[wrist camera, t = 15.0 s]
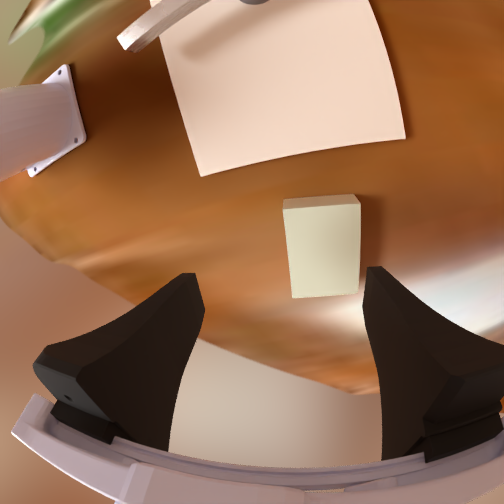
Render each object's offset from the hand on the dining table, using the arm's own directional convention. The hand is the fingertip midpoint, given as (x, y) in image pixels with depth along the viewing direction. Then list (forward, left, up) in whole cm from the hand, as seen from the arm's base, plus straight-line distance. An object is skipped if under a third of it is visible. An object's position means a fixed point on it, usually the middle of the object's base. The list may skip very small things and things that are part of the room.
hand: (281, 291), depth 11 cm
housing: (+2, +14, -9) cm, 17 cm away
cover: (+2, -3, -10) cm, 10 cm away
